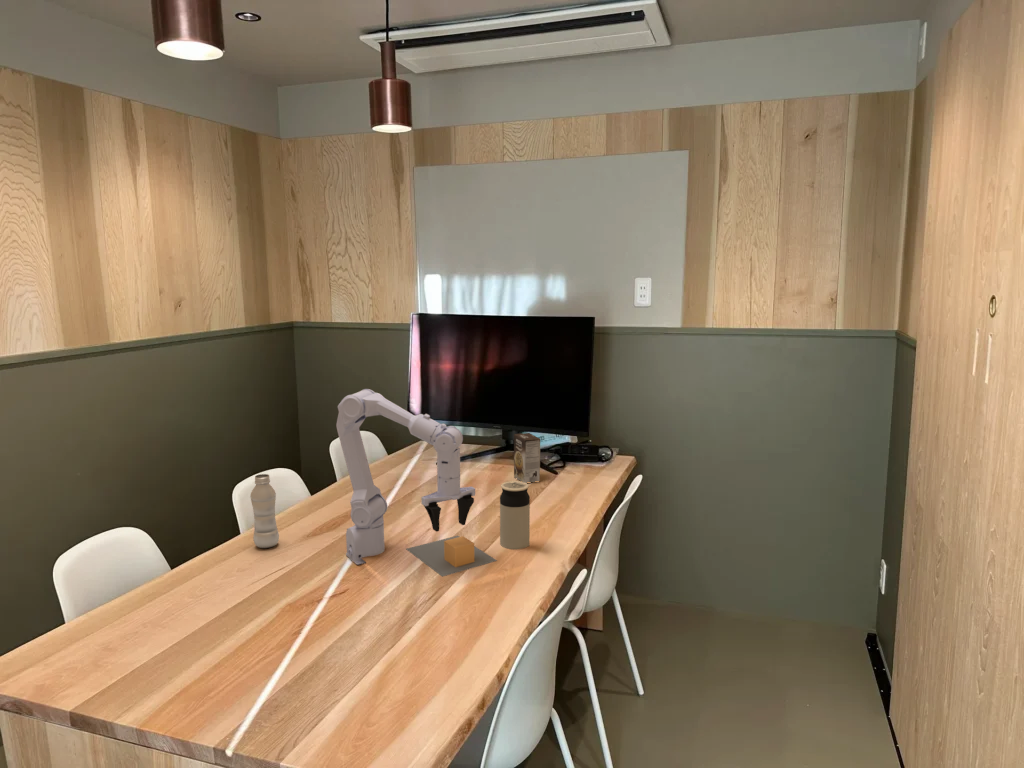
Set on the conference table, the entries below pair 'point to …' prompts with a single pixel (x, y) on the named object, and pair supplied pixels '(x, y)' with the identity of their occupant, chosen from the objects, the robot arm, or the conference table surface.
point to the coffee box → (526, 457)
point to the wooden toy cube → (459, 551)
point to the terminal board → (435, 559)
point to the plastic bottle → (264, 512)
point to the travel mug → (514, 515)
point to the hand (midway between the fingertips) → (449, 527)
